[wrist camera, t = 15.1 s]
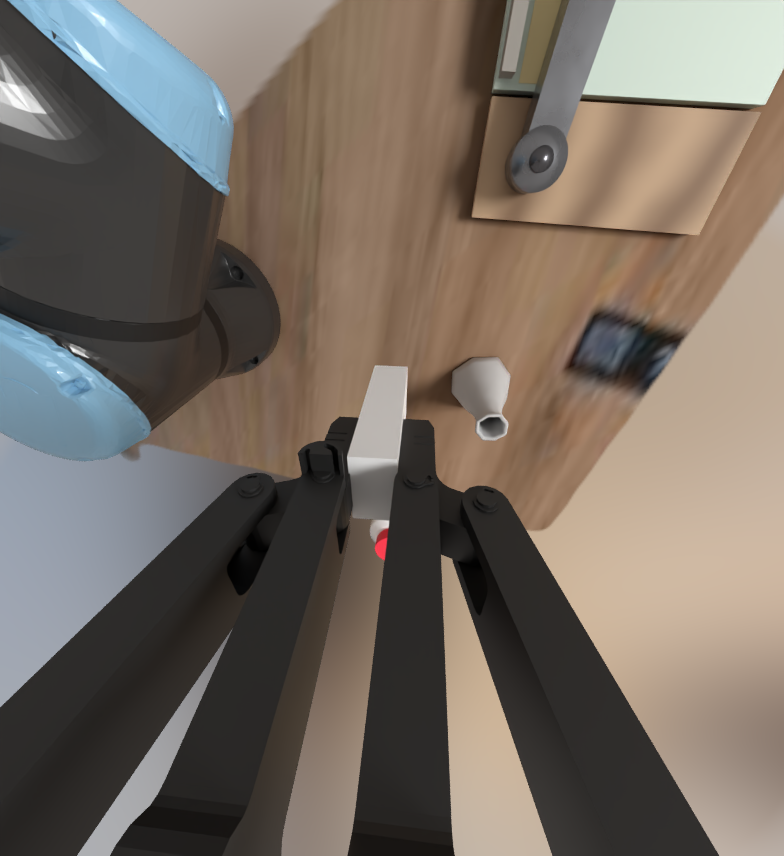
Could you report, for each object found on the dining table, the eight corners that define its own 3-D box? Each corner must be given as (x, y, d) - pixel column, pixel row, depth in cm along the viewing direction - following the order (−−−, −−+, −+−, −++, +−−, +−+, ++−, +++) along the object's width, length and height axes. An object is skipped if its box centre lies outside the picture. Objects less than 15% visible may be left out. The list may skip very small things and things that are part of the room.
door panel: (491, 93, 27) (496, 82, 24) (518, -69, 22) (528, -101, 20) (752, 108, 26) (783, 99, 23) (834, -58, 21) (883, -91, 19)
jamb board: (470, 216, 31) (472, 217, 30) (490, 100, 27) (492, 96, 26) (689, 234, 30) (698, 235, 29) (748, 115, 26) (761, 112, 25)
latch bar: (542, 198, 29) (556, 197, 26) (497, 188, 29) (506, 186, 25) (623, -30, 22) (657, -72, 18) (564, -43, 22) (588, -88, 18)
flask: (443, 366, 40) (445, 407, 32) (504, 346, 38) (523, 386, 30) (459, 414, 43) (464, 463, 35) (515, 399, 41) (536, 447, 33)
